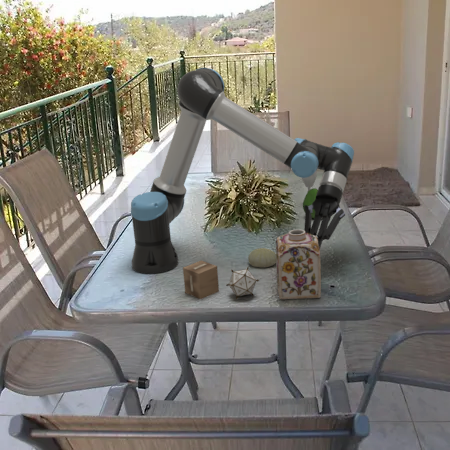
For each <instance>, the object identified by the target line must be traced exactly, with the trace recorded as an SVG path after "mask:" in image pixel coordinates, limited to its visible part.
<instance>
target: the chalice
mask: <svg viewBox="0 0 450 450" xmlns="http://www.w3.org/2000/svg"><path fill="white" fill-rule="evenodd" d="M317 175H318V174H317V170H316V171H315V172H314V174H313V175H311V176H310V177H307V178H301V179H302V182H303V184H304V186H305V187H306V188H307V191H306V193H307V192H308V191H309V190H310V189H312V188H313V186H314V184H315V183H316V180H317Z"/></svg>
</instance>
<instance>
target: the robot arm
mask: <svg viewBox="0 0 450 450" xmlns="http://www.w3.org/2000/svg"><path fill="white" fill-rule="evenodd" d="M177 96H178V98H179V102H178V107H179V109H180V115H179V118H178V120H177V124H176V125H175V129H174V133H173V135H172V138H171V142H170V144H169V148H168V151H167V154H166V156H165V157H166V158H165V160H164V162H163V166H162V169H161V172H160V175H159V176H158V177H156V178H155V179H154V178H153V179H154V180H153V182H152V185H151V188H150V191H147V192H143V193H142V194H137V195H136V196H135V197H133V199H131V203H130V214H131V220H132V229H133V236H134V237H133V238H134V245H135V246H134V249H133V255H132V258H131V259H132V260H131V267H132V270H133V271H135V272H137V273H140V274H150V275H151V274H159V273H164V272H168V271H171V270H173V269H174V268H176V267H177V266H178V264H179V257H178V254H177V251H176V249H175V247H174V245H173V242H172V238H171V237H172V236H171V228H170V227H171V226H170V224H171V223H172V222H173V221H174V220H175V218H176V219H177V217H178V216H179V215H180V214H181V213H182V211H183V209H184V206H185V205H184V204H185V196H186V194H187V188H186V186H185V182H186V180H187V177H188V174H189V171H190V168H191V166H192V163H193V159H194V158H195V155H196V151H197V149H198V145H199V143H200V140H201V137H202V135H203V131H204V129H205V125H206V124H207V123H206V122H207V121H209V120H213V121H214V122H216V123H218V124H219V125H221V126H222V127H224V128H226V129H228V130H229V131H230V132H231V133H232V132H233V133H234V134H236V135H237V136H239V137H240V138H242V139H244V140H245V141H246V142H248V143H249V144H251V145H253V146H255V147H256V148H258V149H260V150H262V151H263V152H264V153H266V154H268V155H269V156H271V157H272V158H274V159H276V160H277V161H279V162H281V164H283V165H286V167H288V168H290V169H291V171H292V173H293V174H294V175H295V176H296V177H298V178H301V179H302V178H307V177H310V176H311V175H313V174H314V172H315V171H316V172H317V170H321V171H323V173H322V177H321V179H320V182H319V186H318V189H317V190H318V191H317V195H316V199H315V201H314V202H313V203H312V205H310V206H307V205H305V206H304V209H305V212H306V213H305V212H304V215H305V217H304V229H303V230H304V231H305V233H309V234H311V235H314V236H316V237H317V238H318V244H319V245H318V246H319V247H320V248H321V247H322V243H323V241H324V240H327V241H329V240H330V239H331V237H332V236H333V233H334V232H335V230H336V229H337V227H338V225H339V223H340V222H341V220H342V219H343V218H345V216H346V212H345V211H344V209H342V208H341V207H340V203H341V200H342V197H343V193H344V192H345V191H344V190H345V187H346V184H347V181H348V177H349V174H350V171H351V169H352V168H351V167H352V164H353V160H354V156H355V150H354V148H353V147H352V146H351V145H350V144H348V143H346V142H339V141H338V142H335V143H333V144H332V145H331V146H327V145H323V144H321V143H320V144H319V143H317V142H314V141H311V140H308V139H306V138H300V137H295V138H292V137H290V136H289V135H287V134H285V133H284V132H283V131H281V130H279V129H278V128H277V127H276V128H275V127H274V126H273V125H272V124H270V123H268V122H266V121H265V120H263V119H261V118H260V117H258V116H257V115H255V114H254V113H252V112H250V111H248V110H247V109H246V108H244V107H242V106H241V105H239V104H237V103H236V102H235V101H233V100H231V99H229V98H228V97H226V95H225V82H224V79H223V77H222V76H221V75H220V73H219V72H218V71H217V70H215V69H212V68H209V67H200V68H196V69H195V70H191V71H188V72H185V74H184V75H182V77H181V78H180V79H179V81H178V83H177ZM313 209H314V210H315V218H314V219H313V218H312V215H311V213H312V212H313ZM332 216H333V217H332ZM312 219H313V221H312Z"/></svg>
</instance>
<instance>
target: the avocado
mask: <svg viewBox="0 0 450 450" xmlns="http://www.w3.org/2000/svg"><path fill="white" fill-rule="evenodd" d="M307 191H308V190H307ZM307 191H306V195H305V196H304V199H303V202H302V209H303V212H304V214H305V213H306V212H305V209H304V206H305V205H307V206H310V205H312V203H313V202H314V201H315V199H316V195H317V191H318V189H317V188H316V187H312V188H310V190H309V191H308V192H307ZM311 215H312V218H311V219H312V220H314V218H315V210H314V209H313V212H312V213H311Z"/></svg>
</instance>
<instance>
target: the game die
mask: <svg viewBox="0 0 450 450" xmlns="http://www.w3.org/2000/svg"><path fill="white" fill-rule="evenodd" d="M249 269H250V268H249V266H247V268H245V269H241V270H235V271H234V270H233V269H231V270H230V271H231V273H232V274H231V276H230V279H229V282H228V283H226V284H225V286H227V287H228V286H229V287H230V289H231V291H232V292H233V293H234V295H235V296H236V297H235V299H236V300H237V299H238V298H239V297H242V296H247V295H251V296H254V293H253V291H254V289H255V286H256V284H257V282H259V281H260V279H256V278H255V276H254V275H253V274H252V273H251V272H250V270H249Z"/></svg>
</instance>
